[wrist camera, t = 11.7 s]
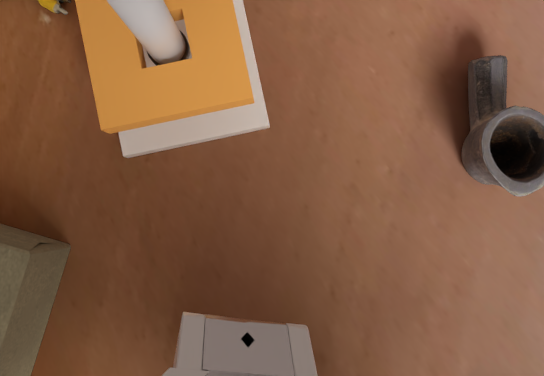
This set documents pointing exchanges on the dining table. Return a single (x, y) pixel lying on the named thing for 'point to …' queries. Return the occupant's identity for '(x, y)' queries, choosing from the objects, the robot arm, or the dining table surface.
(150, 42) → the post stand
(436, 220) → the dining table surface
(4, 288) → the tissue box
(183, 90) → the collar
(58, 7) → the composite cable
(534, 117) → the pipe
